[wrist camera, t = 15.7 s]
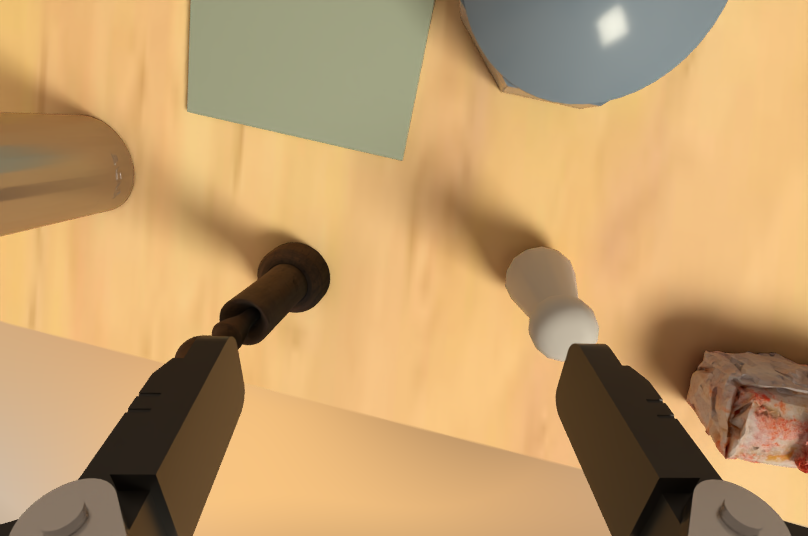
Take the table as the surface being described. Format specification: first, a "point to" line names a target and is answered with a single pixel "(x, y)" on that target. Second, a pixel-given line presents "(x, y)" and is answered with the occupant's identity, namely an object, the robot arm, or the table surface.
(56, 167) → the robot arm
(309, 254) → the dark brown tall piece
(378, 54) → the rubber mat
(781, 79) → the table surface
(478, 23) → the food cover
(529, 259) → the salt shaker
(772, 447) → the food item
